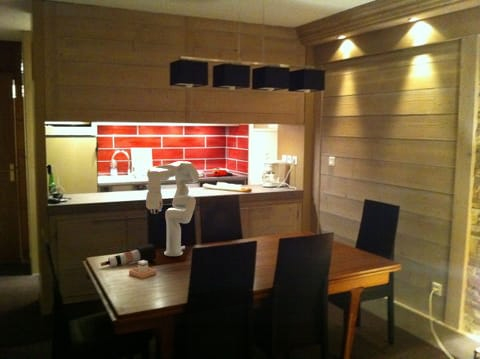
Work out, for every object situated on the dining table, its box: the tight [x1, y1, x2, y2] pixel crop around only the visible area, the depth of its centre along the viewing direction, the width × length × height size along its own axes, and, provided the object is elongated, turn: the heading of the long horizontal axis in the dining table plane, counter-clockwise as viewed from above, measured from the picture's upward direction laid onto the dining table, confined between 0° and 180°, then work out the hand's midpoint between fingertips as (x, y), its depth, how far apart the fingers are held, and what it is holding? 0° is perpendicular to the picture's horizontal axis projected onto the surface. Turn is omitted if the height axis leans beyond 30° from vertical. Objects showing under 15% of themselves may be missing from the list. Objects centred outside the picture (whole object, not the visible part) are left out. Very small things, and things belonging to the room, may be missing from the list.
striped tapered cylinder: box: [100, 243, 157, 268], centre depth 281 cm, size 10×34×10 cm, turn 124°
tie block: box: [137, 260, 149, 274], centre depth 263 cm, size 4×4×7 cm
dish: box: [128, 266, 157, 280], centre depth 263 cm, size 11×11×3 cm
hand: (154, 219), depth 277 cm, fingers closed
